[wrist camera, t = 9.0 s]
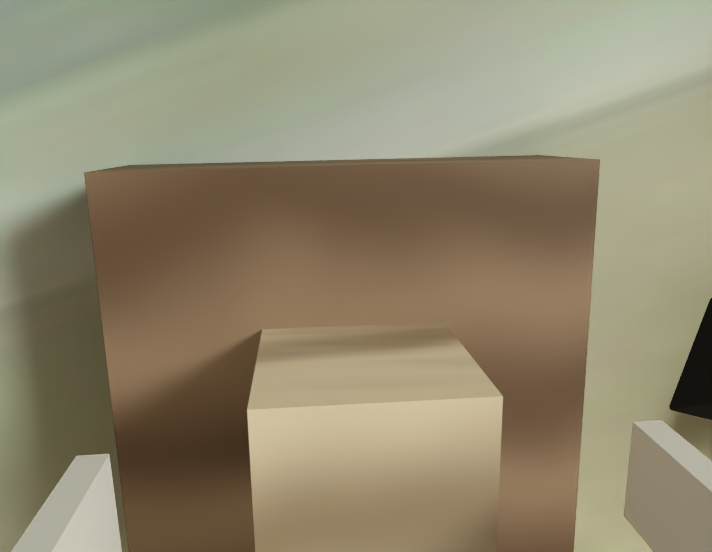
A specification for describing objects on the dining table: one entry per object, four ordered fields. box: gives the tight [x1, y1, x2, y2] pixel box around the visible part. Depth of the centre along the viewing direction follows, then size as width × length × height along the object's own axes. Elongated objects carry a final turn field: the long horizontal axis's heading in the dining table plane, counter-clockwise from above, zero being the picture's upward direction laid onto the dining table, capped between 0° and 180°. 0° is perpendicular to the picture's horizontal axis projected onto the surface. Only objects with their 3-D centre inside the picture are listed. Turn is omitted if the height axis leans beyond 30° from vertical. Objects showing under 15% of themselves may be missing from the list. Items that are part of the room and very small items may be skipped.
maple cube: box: [247, 322, 503, 552], centre depth 18 cm, size 6×6×6 cm
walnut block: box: [84, 155, 600, 552], centre depth 23 cm, size 16×16×5 cm
